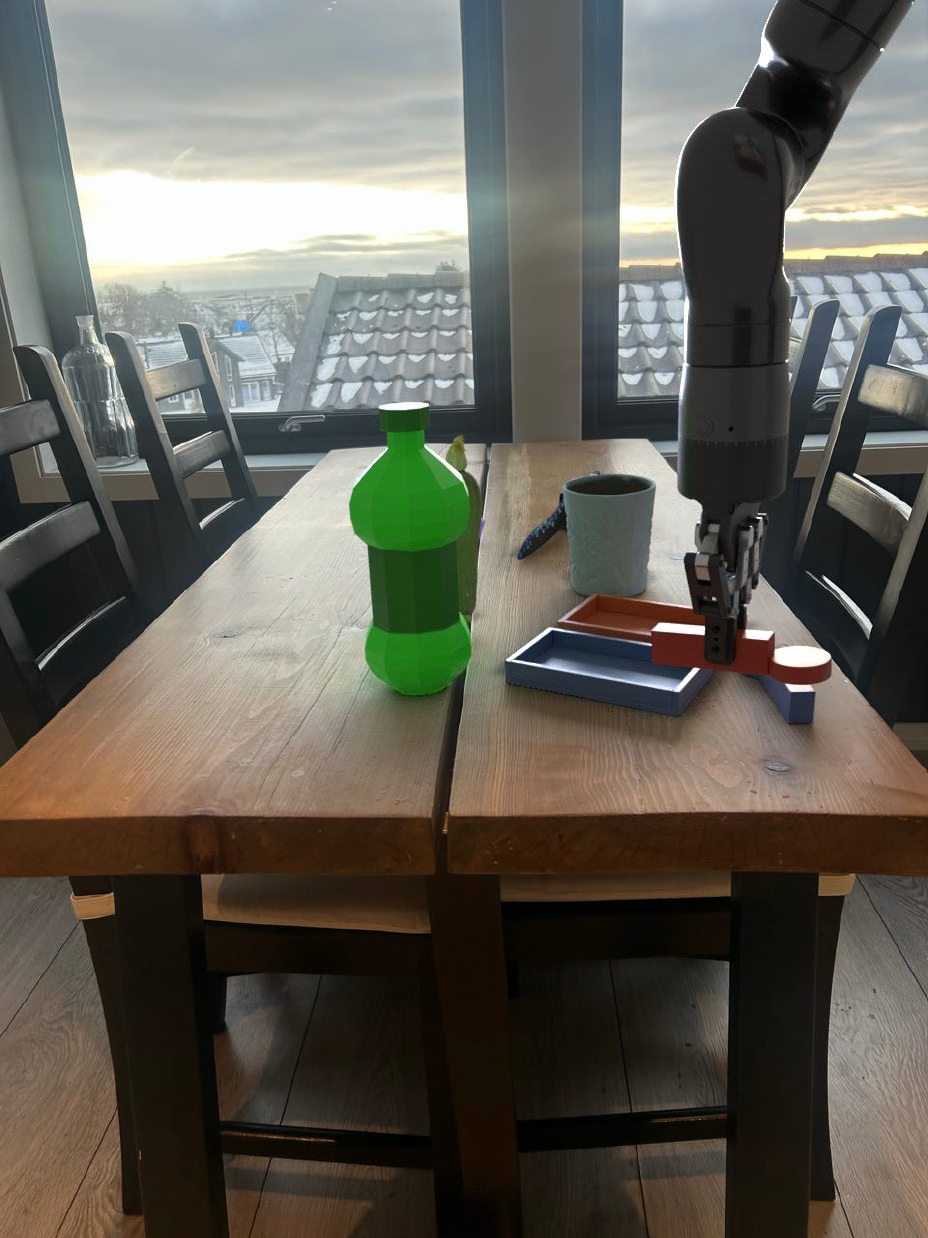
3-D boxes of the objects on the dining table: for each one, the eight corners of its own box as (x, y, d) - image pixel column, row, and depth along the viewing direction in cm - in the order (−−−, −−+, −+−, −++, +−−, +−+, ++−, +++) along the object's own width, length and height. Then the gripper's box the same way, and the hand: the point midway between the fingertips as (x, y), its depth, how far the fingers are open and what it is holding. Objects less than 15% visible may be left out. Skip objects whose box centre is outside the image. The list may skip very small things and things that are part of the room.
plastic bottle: (461, 712, 85) (447, 415, 76) (346, 702, 88) (320, 415, 79) (490, 666, 94) (481, 396, 85) (385, 658, 97) (365, 397, 88)
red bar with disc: (646, 669, 77) (644, 635, 76) (665, 650, 81) (664, 617, 80) (824, 688, 71) (824, 651, 70) (837, 666, 74) (837, 630, 73)
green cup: (658, 575, 117) (661, 474, 113) (646, 604, 108) (649, 495, 104) (573, 571, 120) (573, 472, 116) (555, 598, 111) (553, 492, 107)
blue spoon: (828, 722, 80) (831, 691, 79) (773, 724, 80) (775, 692, 79) (780, 659, 93) (782, 631, 92) (732, 661, 93) (734, 633, 92)
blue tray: (712, 676, 90) (713, 653, 89) (678, 716, 82) (679, 692, 82) (549, 648, 98) (549, 627, 97) (505, 683, 90) (504, 660, 90)
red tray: (746, 635, 99) (747, 614, 98) (718, 668, 91) (719, 646, 91) (594, 612, 107) (594, 593, 106) (557, 641, 99) (557, 621, 98)
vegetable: (443, 618, 107) (433, 430, 100) (483, 615, 107) (476, 428, 100) (446, 632, 103) (436, 438, 96) (488, 629, 103) (481, 435, 96)
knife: (593, 496, 150) (591, 467, 148) (612, 498, 148) (611, 469, 146) (500, 575, 126) (496, 542, 124) (521, 578, 125) (518, 545, 123)
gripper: (760, 448, 63) (749, 700, 69) (810, 413, 74) (796, 633, 80) (646, 443, 66) (645, 682, 72) (710, 411, 77) (704, 621, 83)
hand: (724, 655), depth 76 cm, fingers closed on red bar with disc, 2 cm apart
